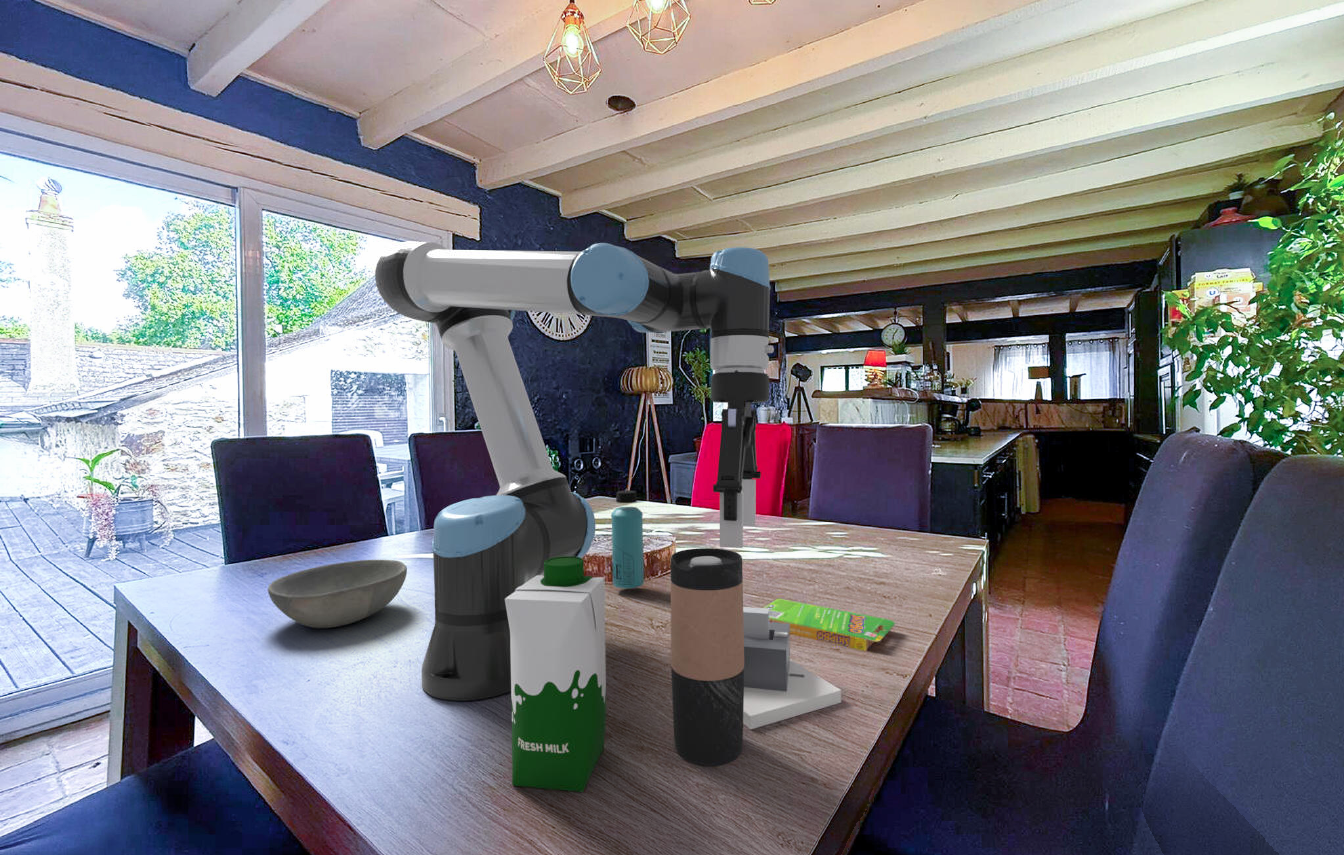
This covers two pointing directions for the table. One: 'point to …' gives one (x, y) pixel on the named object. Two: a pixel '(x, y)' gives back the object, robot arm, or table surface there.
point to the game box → (829, 624)
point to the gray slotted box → (768, 659)
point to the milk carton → (557, 676)
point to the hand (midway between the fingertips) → (739, 535)
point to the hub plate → (801, 688)
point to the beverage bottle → (627, 543)
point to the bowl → (338, 591)
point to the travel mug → (707, 654)
